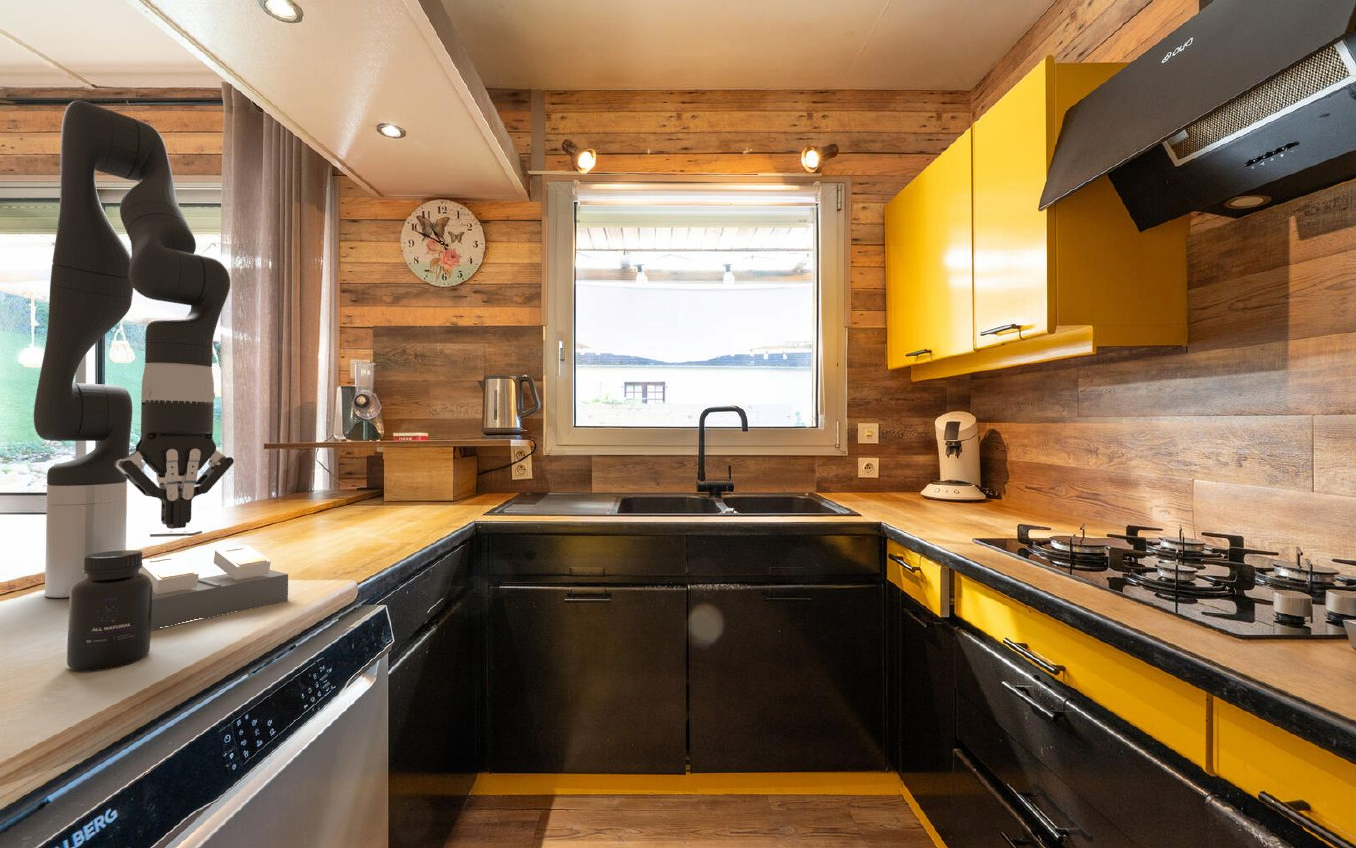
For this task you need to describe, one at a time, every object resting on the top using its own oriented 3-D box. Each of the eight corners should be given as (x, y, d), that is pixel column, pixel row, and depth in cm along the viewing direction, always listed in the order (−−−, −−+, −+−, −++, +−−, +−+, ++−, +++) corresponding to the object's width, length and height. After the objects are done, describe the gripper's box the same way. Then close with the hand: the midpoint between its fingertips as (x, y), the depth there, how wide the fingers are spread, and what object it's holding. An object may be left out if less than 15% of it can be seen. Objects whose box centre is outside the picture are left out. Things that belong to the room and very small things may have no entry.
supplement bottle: (99, 675, 63) (101, 561, 64) (49, 670, 65) (51, 558, 65) (166, 652, 70) (168, 549, 70) (120, 648, 72) (122, 546, 72)
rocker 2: (213, 562, 90) (215, 549, 90) (246, 557, 94) (248, 544, 94) (235, 580, 87) (237, 565, 86) (268, 574, 90) (270, 560, 90)
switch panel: (112, 623, 81) (112, 591, 81) (261, 593, 96) (261, 566, 96) (136, 634, 76) (136, 600, 76) (287, 600, 92) (288, 572, 92)
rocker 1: (136, 574, 82) (138, 559, 82) (175, 568, 86) (177, 554, 86) (156, 594, 79) (158, 579, 79) (196, 587, 83) (198, 572, 82)
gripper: (222, 401, 89) (220, 519, 89) (103, 397, 78) (100, 531, 78) (247, 401, 85) (244, 524, 85) (126, 396, 74) (122, 538, 74)
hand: (175, 527), depth 81 cm, fingers closed
